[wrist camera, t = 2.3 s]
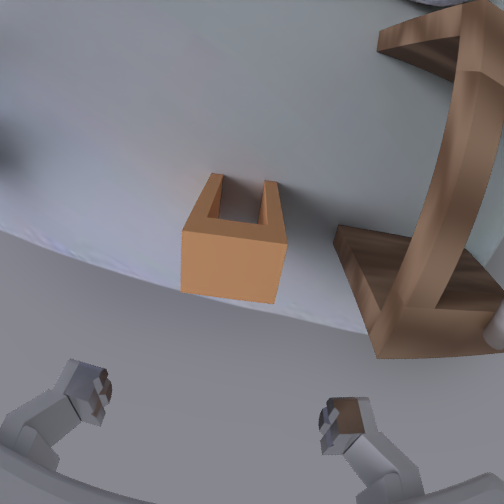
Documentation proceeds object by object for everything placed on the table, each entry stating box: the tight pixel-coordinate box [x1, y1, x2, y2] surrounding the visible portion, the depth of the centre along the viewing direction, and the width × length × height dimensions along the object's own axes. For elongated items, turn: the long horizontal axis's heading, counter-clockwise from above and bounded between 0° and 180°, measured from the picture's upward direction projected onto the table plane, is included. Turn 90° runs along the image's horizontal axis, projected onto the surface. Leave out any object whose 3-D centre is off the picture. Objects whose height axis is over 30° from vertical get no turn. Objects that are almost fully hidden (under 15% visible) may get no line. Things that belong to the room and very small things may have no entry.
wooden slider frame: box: [333, 0, 504, 359], centre depth 17 cm, size 20×16×16 cm
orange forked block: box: [181, 173, 288, 304], centre depth 22 cm, size 4×6×11 cm
